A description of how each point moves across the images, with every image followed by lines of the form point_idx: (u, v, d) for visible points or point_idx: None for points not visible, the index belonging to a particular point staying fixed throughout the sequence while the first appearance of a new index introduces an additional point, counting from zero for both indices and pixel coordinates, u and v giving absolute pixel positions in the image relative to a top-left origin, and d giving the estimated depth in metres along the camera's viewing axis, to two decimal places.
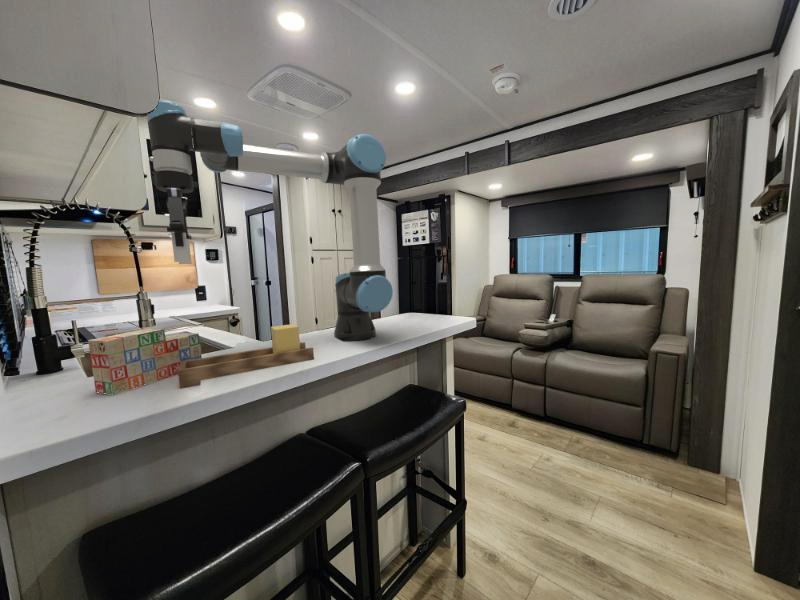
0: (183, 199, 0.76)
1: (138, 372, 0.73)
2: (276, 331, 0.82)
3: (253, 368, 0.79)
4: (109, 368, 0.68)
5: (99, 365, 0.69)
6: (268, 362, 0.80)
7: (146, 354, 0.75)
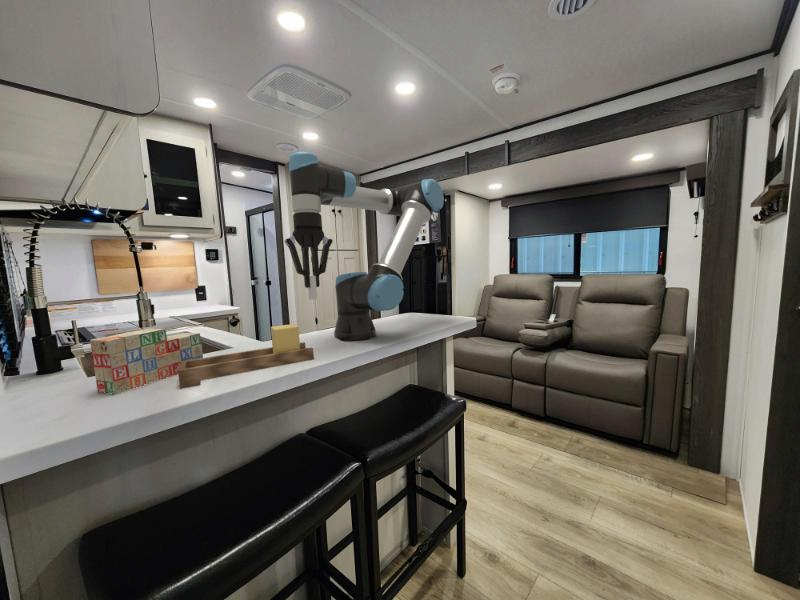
0: (303, 238, 0.86)
1: (139, 371, 0.74)
2: (276, 331, 0.82)
3: (253, 368, 0.79)
4: (111, 367, 0.69)
5: (101, 364, 0.70)
6: (268, 362, 0.80)
7: (147, 354, 0.75)
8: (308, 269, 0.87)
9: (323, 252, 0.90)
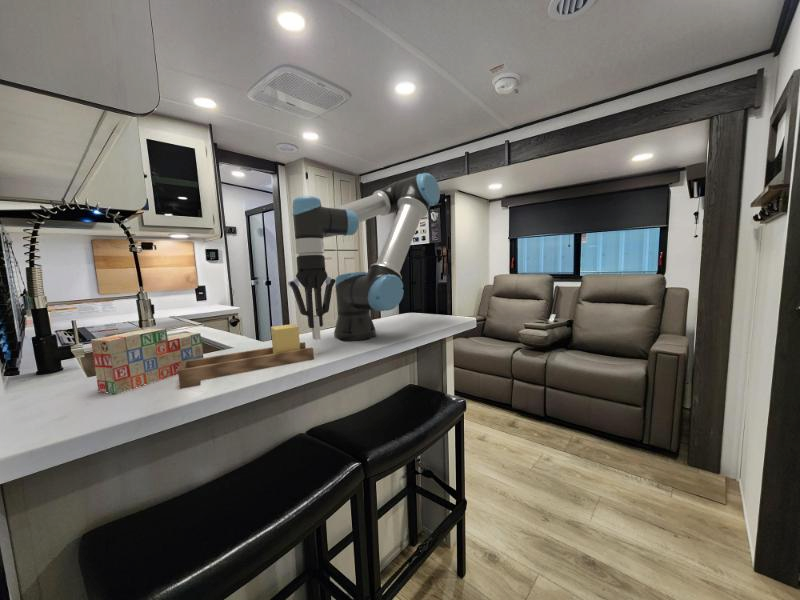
0: (306, 280, 0.87)
1: (140, 371, 0.74)
2: (276, 331, 0.82)
3: (253, 368, 0.79)
4: (112, 367, 0.69)
5: (102, 364, 0.70)
6: (268, 362, 0.80)
7: (148, 353, 0.75)
8: (312, 310, 0.89)
9: (326, 292, 0.91)
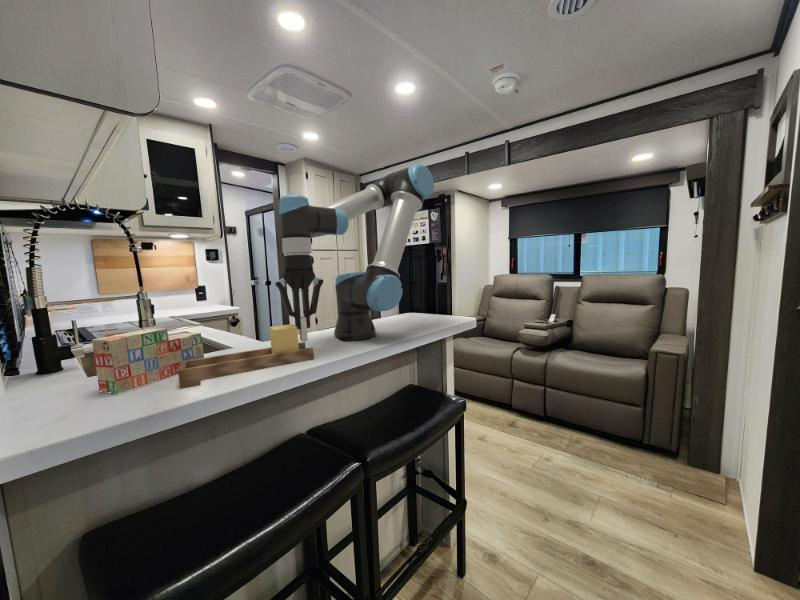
0: (293, 280, 0.85)
1: (141, 371, 0.74)
2: (275, 331, 0.82)
3: (253, 368, 0.79)
4: (113, 367, 0.69)
5: (103, 364, 0.70)
6: (268, 362, 0.80)
7: (149, 353, 0.75)
8: (299, 311, 0.87)
9: (314, 293, 0.89)
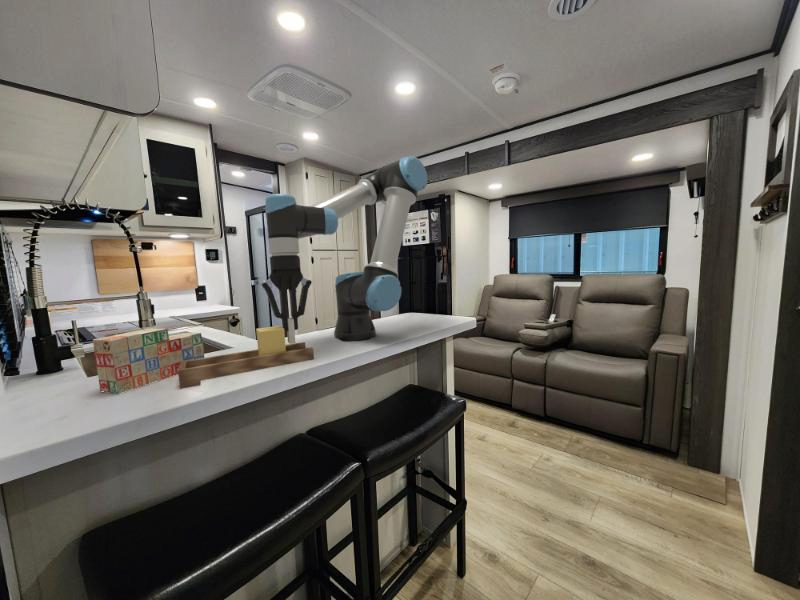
0: (280, 281, 0.84)
1: (142, 371, 0.74)
2: (261, 333, 0.81)
3: (253, 368, 0.79)
4: (114, 367, 0.69)
5: (103, 364, 0.70)
6: (268, 362, 0.80)
7: (149, 353, 0.76)
8: (286, 312, 0.85)
9: (302, 294, 0.88)
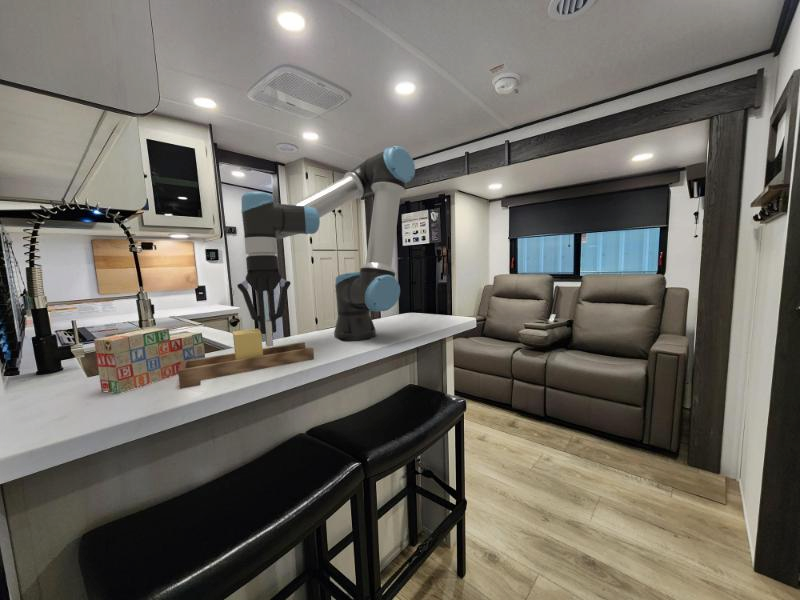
0: (257, 282, 0.81)
1: (143, 371, 0.74)
2: (236, 336, 0.78)
3: (253, 368, 0.79)
4: (116, 367, 0.69)
5: (105, 364, 0.70)
6: (268, 362, 0.80)
7: (151, 353, 0.76)
8: (263, 314, 0.82)
9: (280, 295, 0.85)
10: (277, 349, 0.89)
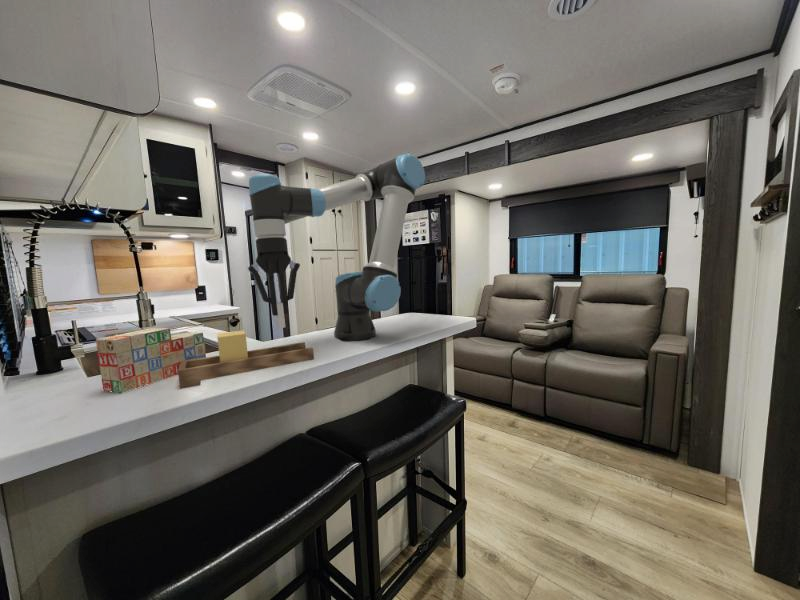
0: (267, 264, 0.82)
1: (145, 370, 0.74)
2: (219, 339, 0.76)
3: (253, 368, 0.79)
4: (118, 366, 0.69)
5: (107, 364, 0.70)
6: (268, 362, 0.80)
7: (152, 353, 0.76)
8: (275, 296, 0.84)
9: (290, 277, 0.86)
10: (277, 349, 0.89)
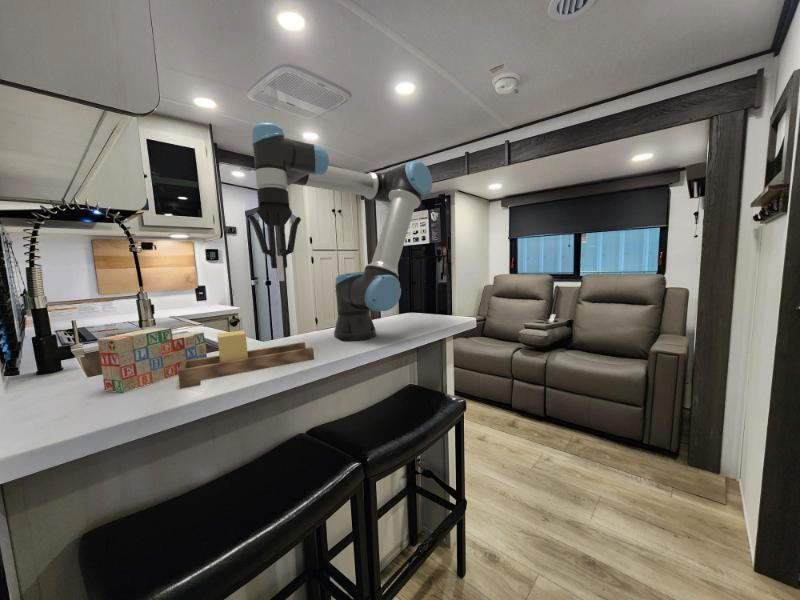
0: (268, 215, 0.81)
1: (146, 370, 0.74)
2: (219, 339, 0.76)
3: (253, 368, 0.79)
4: (120, 366, 0.69)
5: (108, 363, 0.70)
6: (268, 362, 0.80)
7: (154, 352, 0.76)
8: (274, 248, 0.83)
9: (291, 231, 0.85)
10: (277, 349, 0.89)
